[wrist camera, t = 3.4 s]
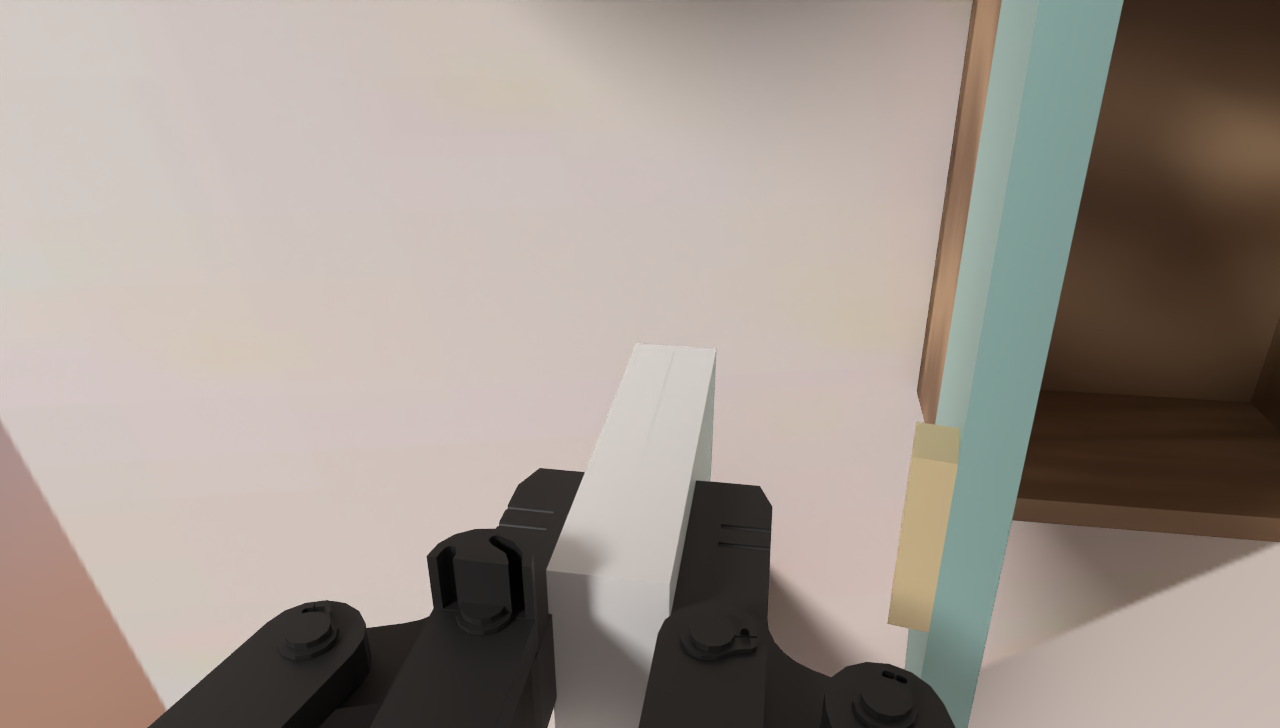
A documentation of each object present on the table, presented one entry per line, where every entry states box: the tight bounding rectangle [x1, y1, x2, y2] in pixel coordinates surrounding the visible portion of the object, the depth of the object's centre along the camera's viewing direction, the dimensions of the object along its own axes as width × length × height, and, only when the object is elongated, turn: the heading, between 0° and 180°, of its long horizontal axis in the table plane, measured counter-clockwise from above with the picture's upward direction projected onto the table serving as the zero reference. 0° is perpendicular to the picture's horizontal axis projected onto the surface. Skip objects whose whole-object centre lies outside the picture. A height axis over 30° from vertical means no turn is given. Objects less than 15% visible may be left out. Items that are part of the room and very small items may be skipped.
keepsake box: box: [917, 0, 1280, 542], centre depth 26 cm, size 16×12×8 cm
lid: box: [888, 0, 1124, 728], centre depth 18 cm, size 17×13×1 cm
